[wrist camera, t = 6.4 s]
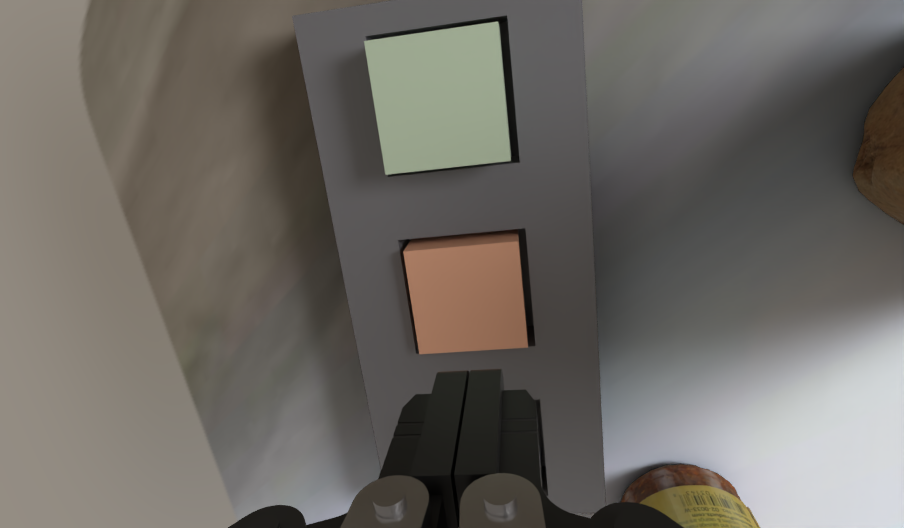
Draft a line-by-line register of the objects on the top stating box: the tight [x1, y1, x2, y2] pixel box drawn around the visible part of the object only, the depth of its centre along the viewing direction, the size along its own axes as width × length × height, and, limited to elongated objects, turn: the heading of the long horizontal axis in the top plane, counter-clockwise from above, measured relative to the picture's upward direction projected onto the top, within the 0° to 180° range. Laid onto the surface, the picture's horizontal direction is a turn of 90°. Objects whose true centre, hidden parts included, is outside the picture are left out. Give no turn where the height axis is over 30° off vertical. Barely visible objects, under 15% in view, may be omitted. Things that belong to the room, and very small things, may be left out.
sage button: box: [364, 22, 511, 175], centre depth 19 cm, size 4×4×2 cm
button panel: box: [292, 0, 606, 513], centre depth 23 cm, size 22×10×3 cm, turn 7°
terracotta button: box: [403, 229, 528, 354], centre depth 22 cm, size 4×4×2 cm
